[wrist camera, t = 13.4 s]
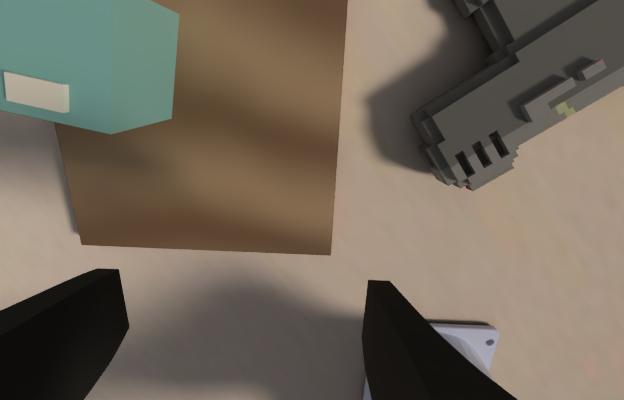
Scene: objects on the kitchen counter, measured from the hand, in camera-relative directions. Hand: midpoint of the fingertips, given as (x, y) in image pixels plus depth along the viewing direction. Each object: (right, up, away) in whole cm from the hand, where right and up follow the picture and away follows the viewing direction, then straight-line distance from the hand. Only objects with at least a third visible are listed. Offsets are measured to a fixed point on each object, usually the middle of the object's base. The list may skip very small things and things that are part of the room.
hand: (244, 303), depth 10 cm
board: (-4, +7, +7) cm, 11 cm away
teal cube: (-7, +10, +5) cm, 13 cm away
